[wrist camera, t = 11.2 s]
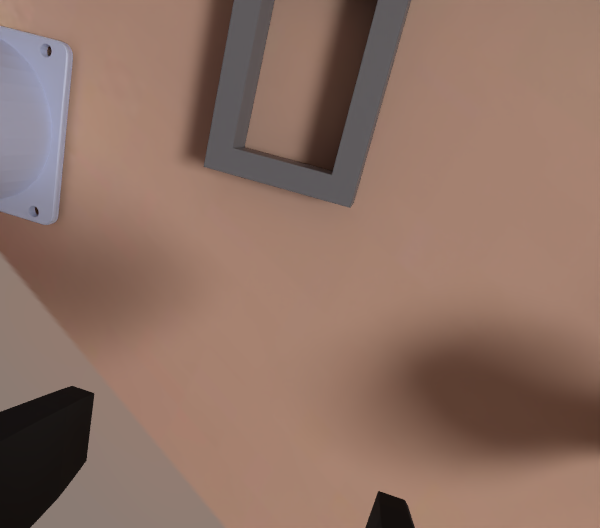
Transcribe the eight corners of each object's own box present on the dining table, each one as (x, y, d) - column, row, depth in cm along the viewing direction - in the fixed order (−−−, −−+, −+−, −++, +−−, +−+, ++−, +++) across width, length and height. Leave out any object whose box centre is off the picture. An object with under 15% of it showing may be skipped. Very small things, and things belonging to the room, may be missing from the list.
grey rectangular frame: (217, 164, 20) (203, 166, 19) (260, -62, 18) (248, -79, 16) (353, 202, 19) (350, 207, 18) (418, -27, 17) (420, -43, 15)
